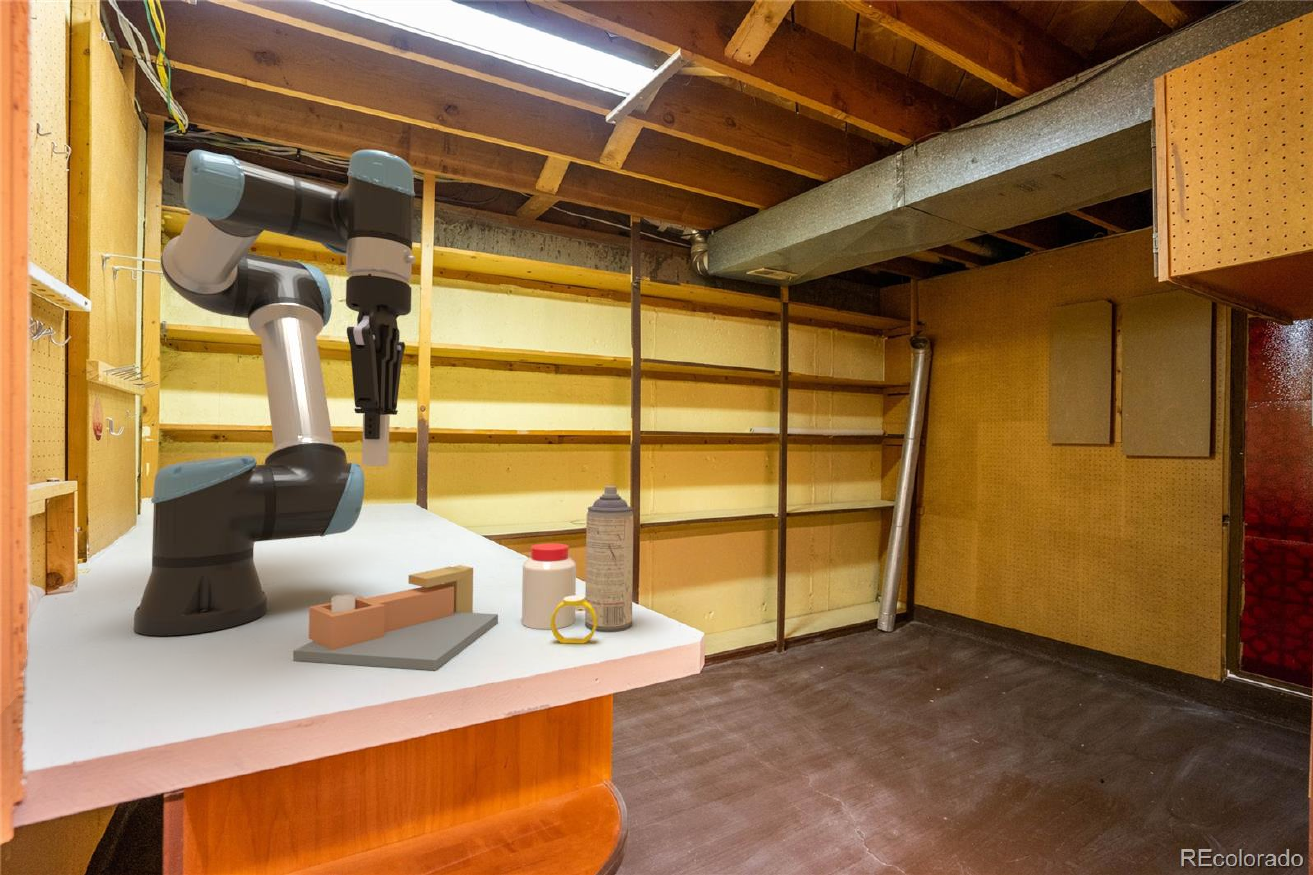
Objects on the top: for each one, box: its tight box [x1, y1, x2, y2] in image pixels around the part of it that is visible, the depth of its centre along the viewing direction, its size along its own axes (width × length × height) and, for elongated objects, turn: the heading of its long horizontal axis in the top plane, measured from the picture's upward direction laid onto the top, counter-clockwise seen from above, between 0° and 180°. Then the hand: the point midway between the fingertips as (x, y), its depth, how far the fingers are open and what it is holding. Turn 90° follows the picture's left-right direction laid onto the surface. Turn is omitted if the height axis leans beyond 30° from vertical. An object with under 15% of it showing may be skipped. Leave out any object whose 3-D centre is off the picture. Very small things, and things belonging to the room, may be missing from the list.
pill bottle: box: [521, 542, 577, 630], centre depth 86 cm, size 8×8×11 cm
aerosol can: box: [584, 485, 634, 633], centre depth 85 cm, size 7×7×20 cm
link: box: [308, 584, 454, 650], centre depth 79 cm, size 17×6×4 cm, turn 142°
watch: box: [550, 595, 597, 645], centre depth 78 cm, size 6×3×6 cm, turn 91°
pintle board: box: [292, 564, 499, 672], centre depth 79 cm, size 18×22×7 cm
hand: (375, 465), depth 75 cm, fingers closed
